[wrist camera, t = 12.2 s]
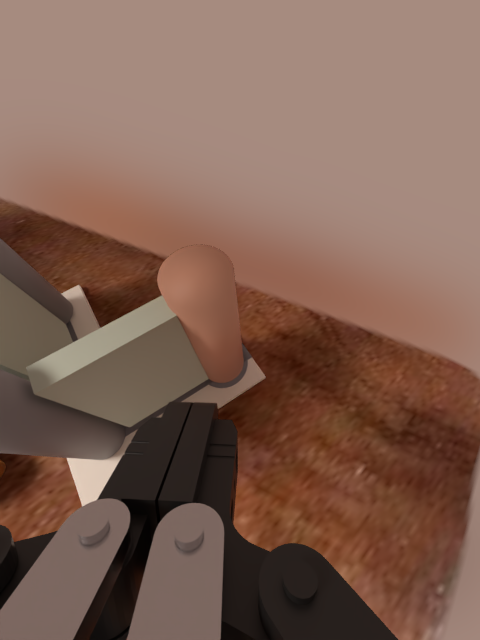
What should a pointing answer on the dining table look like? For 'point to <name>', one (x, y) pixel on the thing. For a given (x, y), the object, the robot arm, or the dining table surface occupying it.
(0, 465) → the kendama
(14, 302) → the fence fixed
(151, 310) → the gate
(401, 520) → the dining table surface
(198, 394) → the board
